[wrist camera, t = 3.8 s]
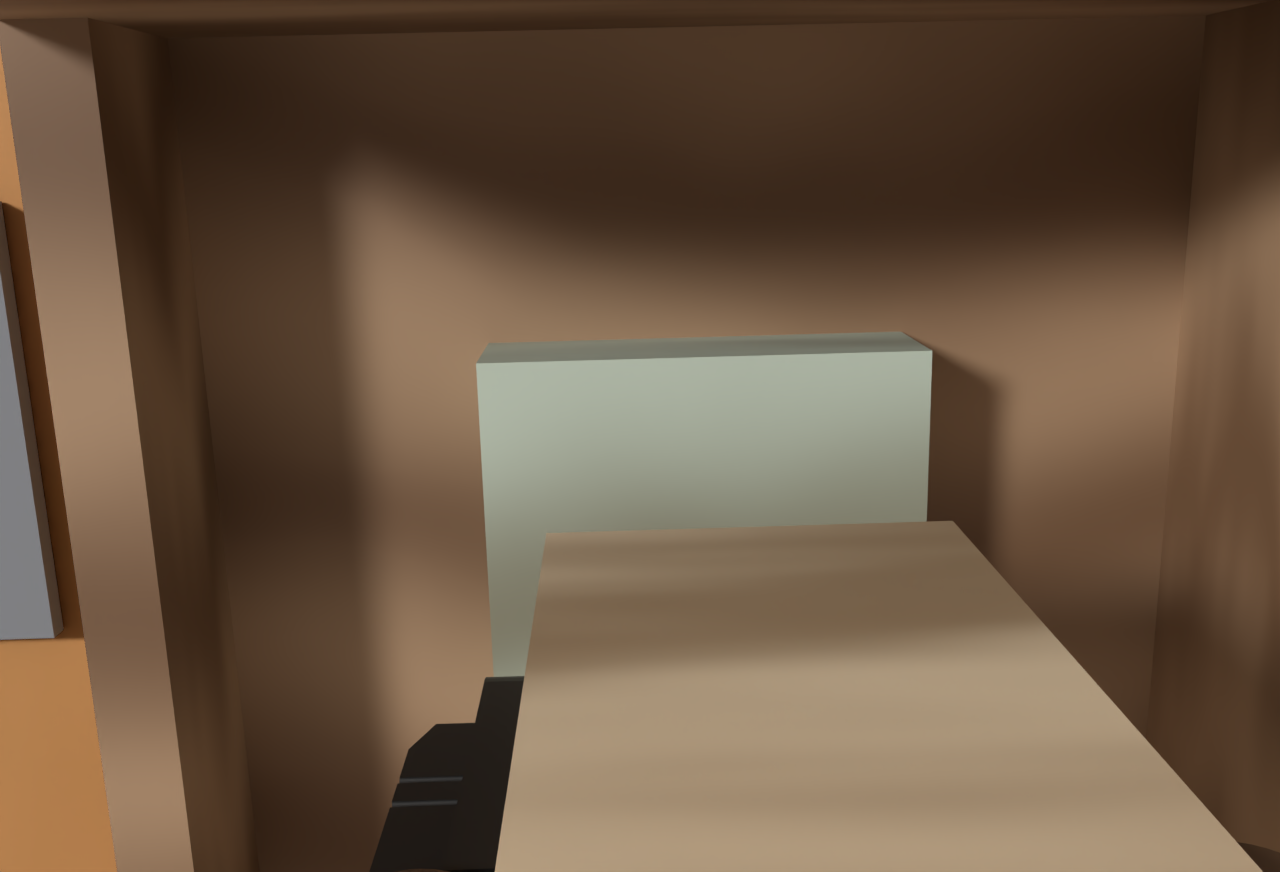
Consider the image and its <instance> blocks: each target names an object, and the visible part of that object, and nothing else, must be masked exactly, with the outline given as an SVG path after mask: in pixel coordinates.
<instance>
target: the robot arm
mask: <svg viewBox="0 0 1280 872" xmlns="http://www.w3.org/2000/svg"><path fill="white" fill-rule="evenodd" d="M523 683H524V676H506V677H486V678H485V680H484V684H483V689H482V693H481V698H480V702H479V707H478V711H477V716H476V720H475V723H449V724H436V725H434V726H433V727H432V728H431V729H430V730H429V731H428V732H427V733H426V734H425V735H424V736H422V737H421V738H420V739H419V740H418V741H417V742H416V743H415V744H414V745H413V746H412V747H410V748H409V749H408V753H407V756H406V759H405V762H404V765H403V768H402V771H401V774H400V778H399V783H398V784H397V787H396V790H395V793H394V796H393V799H392V807H390V809H389V812H388V815H387V818H386V821H385V824H384V827H383V830H382V834H381V837H380V840H379V843H378V846H377V849H376V852H375V855H374V859H373V862H372V865H371V868H370V871H369V872H495V866H496V860H497V853H498V846H499V840H500V833H501V827H502V820H503V814H504V807H505V801H506V794H507V788H508V781H509V775H510V768H511V761H512V755H513V748H514V742H515V735H516V729H517V722H518V716H519V709H520V703H521V696H522V689H523ZM1237 843H1238V844H1239V845H1240V846H1241V847H1242V849H1243V850H1244V851H1245V852H1246V853H1247V854H1248V855H1249V856H1250V858H1251V859H1252V860H1253V861H1254V862H1255V863H1256V864H1257V865H1258V867H1259V868H1260V869H1261V870H1262V871H1263V872H1280V853H1279V852H1276V851H1273V850H1270V849H1267V848H1264V847H1260V846H1256V845H1252V844H1246V843H1240V842H1237Z"/></svg>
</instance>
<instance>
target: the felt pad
mask: <svg viewBox="0 0 1280 872" xmlns="http://www.w3.org/2000/svg"><path fill="white" fill-rule="evenodd" d="M63 630H64V628H63V621H62V614H61V608H60V601H59V594H58V587H57V580H56V573H55V566H54V559H53V553H52V546H51V539H50V532H49V525H48V518H47V511H46V504H45V498H44V491H43V484H42V477H41V470H40V463H39V456H38V450H37V443H36V436H35V429H34V422H33V415H32V408H31V401H30V395H29V388H28V381H27V374H26V367H25V360H24V353H23V346H22V340H21V333H20V326H19V319H18V312H17V305H16V298H15V292H14V285H13V278H12V271H11V264H10V257H9V250H8V243H7V237H6V230H5V223H4V216H3V209H2V202H1V201H0V640H6V639H37V638H55V637H56V636H57V635H58V634H59V633H60V632H62V631H63Z"/></svg>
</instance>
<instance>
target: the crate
mask: <svg viewBox="0 0 1280 872" xmlns="http://www.w3.org/2000/svg"><path fill="white" fill-rule="evenodd" d="M0 46H1V54H2V61H3V68H4V75H5V82H6V89H7V96H8V103H9V110H10V117H11V124H12V131H13V138H14V145H15V152H16V160H17V167H18V174H19V181H20V188H21V195H22V202H23V209H24V216H25V223H26V230H27V237H28V244H29V251H30V258H31V266H32V273H33V280H34V287H35V294H36V301H37V308H38V315H39V322H40V329H41V336H42V343H43V350H44V357H45V364H46V372H47V379H48V386H49V393H50V400H51V407H52V414H53V421H54V428H55V435H56V442H57V449H58V456H59V463H60V470H61V478H62V485H63V492H64V499H65V506H66V513H67V520H68V527H69V534H70V541H71V548H72V555H73V562H74V569H75V576H76V583H77V591H78V598H79V605H80V612H81V619H82V626H83V633H84V640H85V647H86V654H87V661H88V668H89V675H90V682H91V689H92V697H93V704H94V711H95V718H96V725H97V732H98V739H99V746H100V753H101V760H102V767H103V774H104V781H105V788H106V795H107V803H108V810H109V817H110V824H111V831H112V838H113V845H114V852H115V859H116V866H117V872H369V871H370V868H371V865H372V862H373V859H374V855H375V852H376V849H377V846H378V843H379V840H380V837H381V834H382V830H383V827H384V824H385V821H386V818H387V815H388V812H389V809H390V807H392V799H393V796H394V793H395V790H396V787H397V784H398V783H399V778H400V774H401V771H402V768H403V765H404V762H405V759H406V756H407V753H408V749H409V748H410V747H412V746H413V745H414V744H415V743H416V742H417V741H418V740H419V739H420V738H421V737H422V736H424V735H425V734H426V733H427V732H428V731H429V730H430V729H431V728H432V727H433V726H434V725H436V724H449V723H475V720H476V716H477V711H478V707H479V702H480V698H481V693H482V689H483V684H484V680H485V678H486V677H506V676H525V670H526V663H527V657H528V650H529V644H530V637H531V631H532V624H533V617H534V611H535V604H536V598H537V591H538V585H539V578H540V572H541V565H542V559H543V552H544V545H545V539H546V533H564V532H597V531H631V530H664V529H697V528H730V527H763V526H797V525H830V524H863V523H896V522H929V521H953V522H954V523H955V524H956V525H957V526H958V527H959V528H960V530H961V531H962V532H963V533H964V534H965V535H966V536H967V537H968V539H969V540H970V541H971V542H972V543H973V544H974V545H975V547H976V548H977V549H978V550H979V551H980V552H981V553H982V554H983V556H984V557H985V558H986V559H987V560H988V561H989V562H990V563H991V565H992V566H993V567H994V568H995V569H996V570H997V571H998V573H999V574H1000V575H1001V576H1002V577H1003V578H1004V579H1005V580H1006V582H1007V583H1008V584H1009V585H1010V586H1011V587H1012V588H1013V590H1014V591H1015V592H1016V593H1017V594H1018V595H1019V596H1020V597H1021V599H1022V600H1023V601H1024V602H1025V603H1026V604H1027V605H1028V606H1029V608H1030V609H1031V610H1032V611H1033V612H1034V613H1035V614H1036V616H1037V617H1038V618H1039V619H1040V620H1041V621H1042V622H1043V623H1044V625H1045V626H1046V627H1047V628H1048V629H1049V630H1050V631H1051V632H1052V634H1053V635H1054V636H1055V637H1056V638H1057V639H1058V640H1059V642H1060V643H1061V644H1062V645H1063V646H1064V647H1065V648H1066V649H1067V651H1068V652H1069V653H1070V654H1071V655H1072V656H1073V657H1074V658H1075V660H1076V661H1077V662H1078V663H1079V664H1080V665H1081V666H1082V668H1083V669H1084V670H1085V671H1086V672H1087V673H1088V674H1089V675H1090V677H1091V678H1092V679H1093V680H1094V681H1095V682H1096V683H1097V685H1098V686H1099V687H1100V688H1101V689H1102V690H1103V691H1104V692H1105V694H1106V695H1107V696H1108V697H1109V698H1110V699H1111V700H1112V701H1113V703H1114V704H1115V705H1116V706H1117V707H1118V708H1119V709H1120V711H1121V712H1122V713H1123V714H1124V715H1125V716H1126V717H1127V718H1128V720H1129V721H1130V722H1131V723H1132V724H1133V725H1134V726H1135V727H1136V729H1137V730H1138V731H1139V732H1140V733H1141V734H1142V735H1143V737H1144V738H1145V739H1146V740H1147V741H1148V742H1149V743H1150V744H1151V746H1152V747H1153V748H1154V749H1155V750H1156V751H1157V752H1158V753H1159V755H1160V756H1161V757H1162V758H1163V759H1164V760H1165V761H1166V763H1167V764H1168V765H1169V766H1170V767H1171V768H1172V769H1173V770H1174V772H1175V773H1176V774H1177V775H1178V776H1179V777H1180V778H1181V780H1182V781H1183V782H1184V783H1185V784H1186V785H1187V786H1188V787H1189V789H1190V790H1191V791H1192V792H1193V793H1194V794H1195V795H1196V796H1197V798H1198V799H1199V800H1200V801H1201V802H1202V803H1203V804H1204V806H1205V807H1206V808H1207V809H1208V810H1209V811H1210V812H1211V813H1212V815H1213V816H1214V817H1215V818H1216V819H1217V820H1218V821H1219V822H1220V824H1221V825H1222V826H1223V827H1224V828H1225V829H1226V830H1227V832H1228V833H1229V834H1230V835H1231V836H1232V837H1233V838H1234V839H1235V841H1236V842H1240V843H1246V844H1252V845H1256V846H1260V847H1264V848H1267V849H1270V850H1273V851H1276V852H1279V853H1280V0H0Z"/></svg>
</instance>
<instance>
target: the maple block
mask: <svg viewBox="0 0 1280 872" xmlns="http://www.w3.org/2000/svg"><path fill="white" fill-rule="evenodd" d="M495 872H1263V871H1262V870H1261V869H1260V868H1259V867H1258V865H1257V864H1256V863H1255V862H1254V861H1253V860H1252V859H1251V858H1250V856H1249V855H1248V854H1247V853H1246V852H1245V851H1244V850H1243V849H1242V847H1241V846H1240V845H1239V844H1238V843H1237V842H1236V841H1235V839H1234V838H1233V837H1232V836H1231V835H1230V834H1229V833H1228V832H1227V830H1226V829H1225V828H1224V827H1223V826H1222V825H1221V824H1220V822H1219V821H1218V820H1217V819H1216V818H1215V817H1214V816H1213V815H1212V813H1211V812H1210V811H1209V810H1208V809H1207V808H1206V807H1205V806H1204V804H1203V803H1202V802H1201V801H1200V800H1199V799H1198V798H1197V796H1196V795H1195V794H1194V793H1193V792H1192V791H1191V790H1190V789H1189V787H1188V786H1187V785H1186V784H1185V783H1184V782H1183V781H1182V780H1181V778H1180V777H1179V776H1178V775H1177V774H1176V773H1175V772H1174V770H1173V769H1172V768H1171V767H1170V766H1169V765H1168V764H1167V763H1166V761H1165V760H1164V759H1163V758H1162V757H1161V756H1160V755H1159V753H1158V752H1157V751H1156V750H1155V749H1154V748H1153V747H1152V746H1151V744H1150V743H1149V742H1148V741H1147V740H1146V739H1145V738H1144V737H1143V735H1142V734H1141V733H1140V732H1139V731H1138V730H1137V729H1136V727H1135V726H1134V725H1133V724H1132V723H1131V722H1130V721H1129V720H1128V718H1127V717H1126V716H1125V715H1124V714H1123V713H1122V712H1121V711H1120V709H1119V708H1118V707H1117V706H1116V705H1115V704H1114V703H1113V701H1112V700H1111V699H1110V698H1109V697H1108V696H1107V695H1106V694H1105V692H1104V691H1103V690H1102V689H1101V688H1100V687H1099V686H1098V685H1097V683H1096V682H1095V681H1094V680H1093V679H1092V678H1091V677H1090V675H1089V674H1088V673H1087V672H1086V671H1085V670H1084V669H1083V668H1082V666H1081V665H1080V664H1079V663H1078V662H1077V661H1076V660H1075V658H1074V657H1073V656H1072V655H1071V654H1070V653H1069V652H1068V651H1067V649H1066V648H1065V647H1064V646H1063V645H1062V644H1061V643H1060V642H1059V640H1058V639H1057V638H1056V637H1055V636H1054V635H1053V634H1052V632H1051V631H1050V630H1049V629H1048V628H1047V627H1046V626H1045V625H1044V623H1043V622H1042V621H1041V620H1040V619H1039V618H1038V617H1037V616H1036V614H1035V613H1034V612H1033V611H1032V610H1031V609H1030V608H1029V606H1028V605H1027V604H1026V603H1025V602H1024V601H1023V600H1022V599H1021V597H1020V596H1019V595H1018V594H1017V593H1016V592H1015V591H1014V590H1013V588H1012V587H1011V586H1010V585H1009V584H1008V583H1007V582H1006V580H1005V579H1004V578H1003V577H1002V576H1001V575H1000V574H999V573H998V571H997V570H996V569H995V568H994V567H993V566H992V565H991V563H990V562H989V561H988V560H987V559H986V558H985V557H984V556H983V554H982V553H981V552H980V551H979V550H978V549H977V548H976V547H975V545H974V544H973V543H972V542H971V541H970V540H969V539H968V537H967V536H966V535H965V534H964V533H963V532H962V531H961V530H960V528H959V527H958V526H957V525H956V524H955V523H954V522H953V521H929V522H896V523H863V524H830V525H797V526H763V527H730V528H697V529H664V530H631V531H597V532H564V533H546V539H545V545H544V552H543V559H542V565H541V572H540V578H539V585H538V591H537V598H536V604H535V611H534V617H533V624H532V631H531V637H530V644H529V650H528V657H527V663H526V670H525V676H524V683H523V689H522V696H521V703H520V709H519V716H518V722H517V729H516V735H515V742H514V748H513V755H512V761H511V768H510V775H509V781H508V788H507V794H506V801H505V807H504V814H503V820H502V827H501V833H500V840H499V846H498V853H497V860H496V866H495Z"/></svg>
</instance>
